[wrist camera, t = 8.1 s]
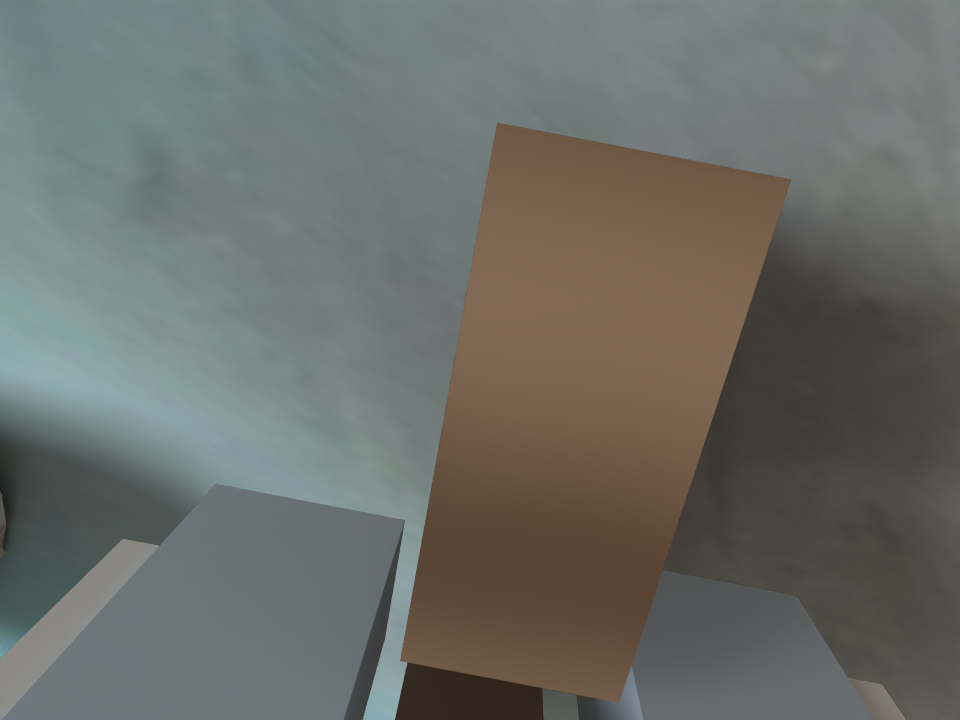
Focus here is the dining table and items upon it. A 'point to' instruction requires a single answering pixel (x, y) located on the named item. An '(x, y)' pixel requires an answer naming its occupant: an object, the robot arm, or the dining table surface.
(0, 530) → the tan rough cut rock
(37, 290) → the dining table surface
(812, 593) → the dining table surface
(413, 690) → the walnut board
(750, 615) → the grey slotted slab
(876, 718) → the robot arm
